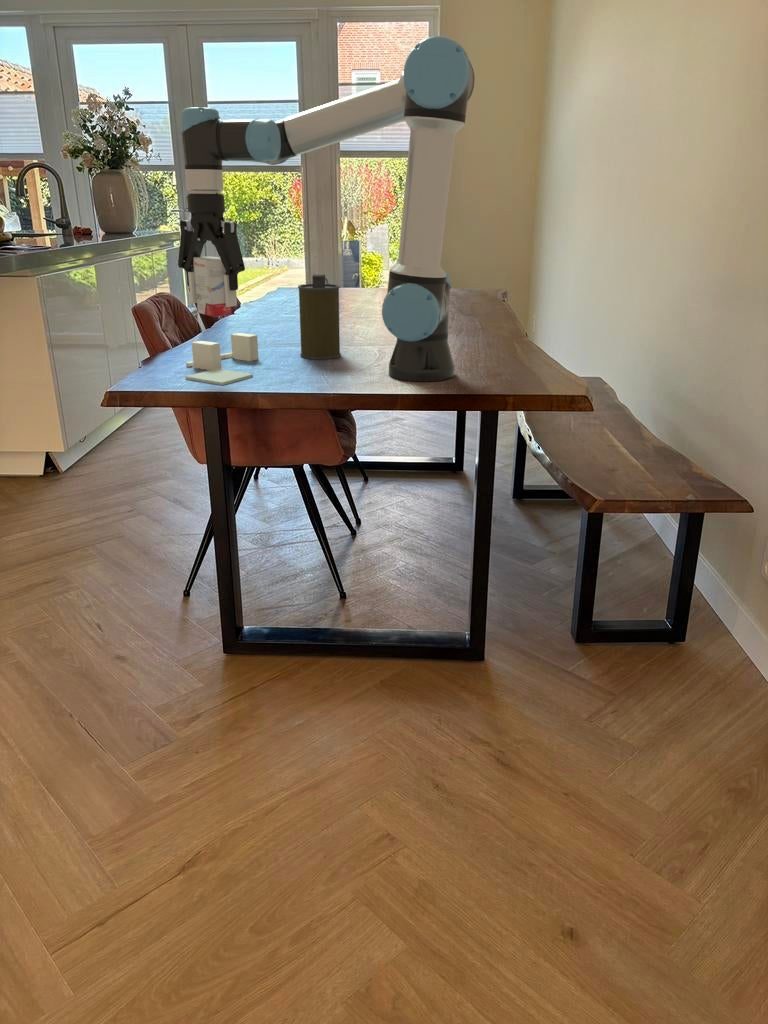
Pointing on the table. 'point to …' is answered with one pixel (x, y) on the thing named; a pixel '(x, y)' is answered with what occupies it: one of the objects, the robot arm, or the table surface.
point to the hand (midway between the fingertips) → (213, 304)
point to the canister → (319, 319)
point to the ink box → (210, 286)
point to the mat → (219, 376)
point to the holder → (210, 358)
